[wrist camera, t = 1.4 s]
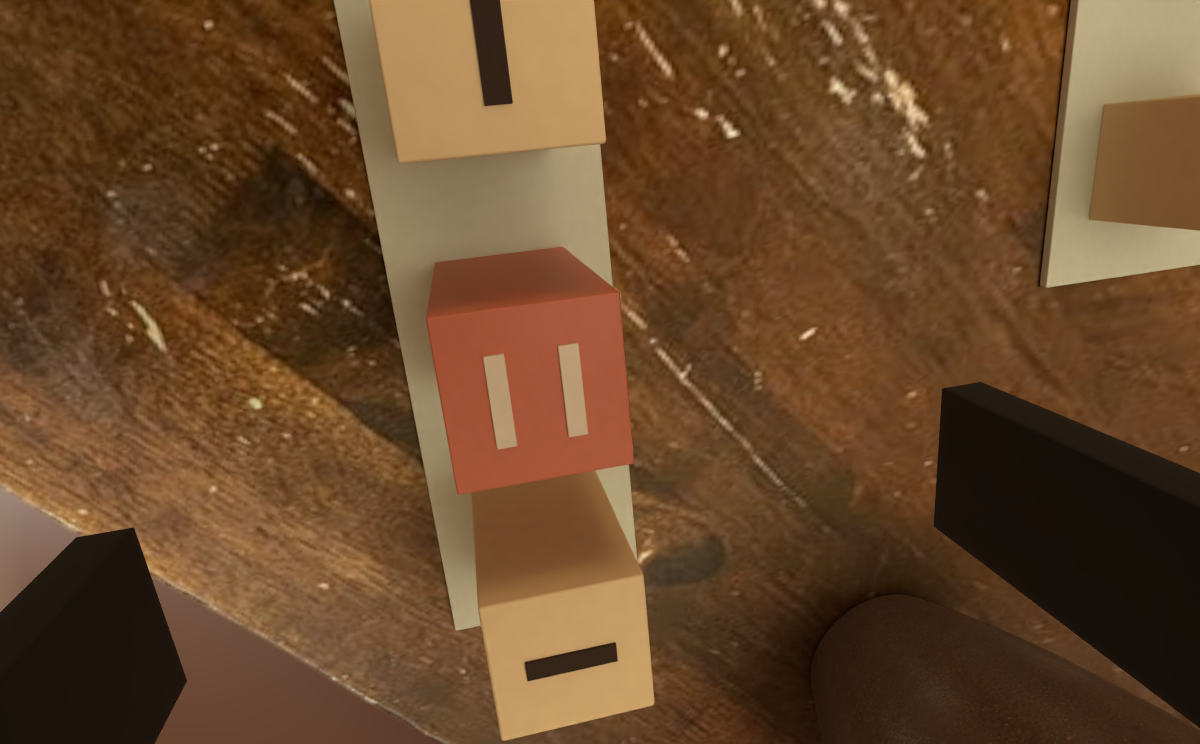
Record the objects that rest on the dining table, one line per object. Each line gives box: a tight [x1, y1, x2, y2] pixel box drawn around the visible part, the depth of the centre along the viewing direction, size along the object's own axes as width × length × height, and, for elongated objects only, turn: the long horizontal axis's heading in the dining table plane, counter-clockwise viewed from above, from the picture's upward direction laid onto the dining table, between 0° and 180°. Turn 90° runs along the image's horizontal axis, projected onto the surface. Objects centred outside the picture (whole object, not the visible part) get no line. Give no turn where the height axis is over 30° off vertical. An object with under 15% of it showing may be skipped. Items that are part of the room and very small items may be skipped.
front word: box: [334, 0, 654, 741], centre depth 21 cm, size 26×8×10 cm, turn 6°
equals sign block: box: [426, 247, 634, 495], centre depth 21 cm, size 5×5×9 cm
